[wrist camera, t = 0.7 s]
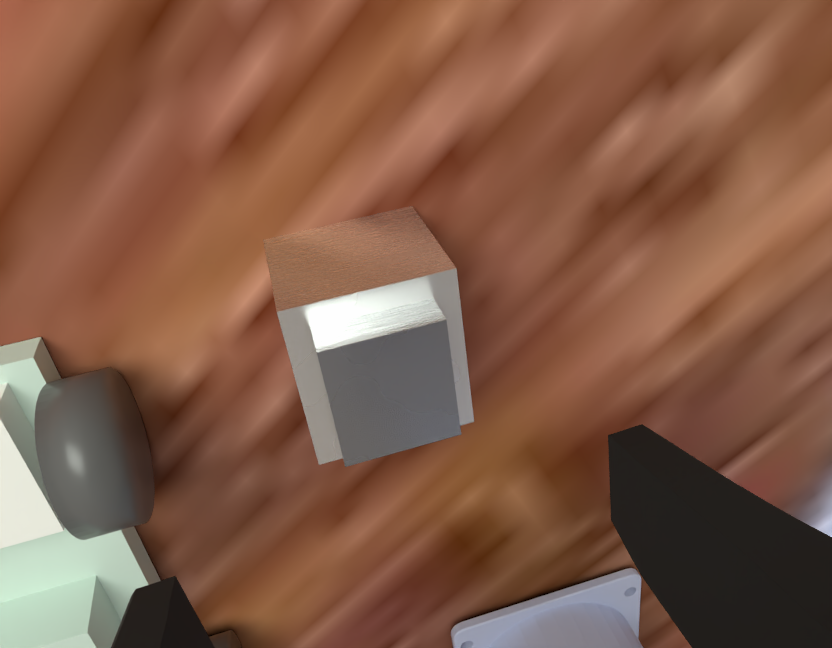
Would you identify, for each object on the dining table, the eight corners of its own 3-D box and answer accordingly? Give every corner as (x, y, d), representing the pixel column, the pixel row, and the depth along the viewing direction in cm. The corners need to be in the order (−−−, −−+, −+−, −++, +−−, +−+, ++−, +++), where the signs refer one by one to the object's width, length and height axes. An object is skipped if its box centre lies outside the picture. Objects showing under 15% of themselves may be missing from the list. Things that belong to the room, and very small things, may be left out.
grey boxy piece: (431, 341, 21) (487, 446, 17) (300, 375, 21) (324, 492, 17) (411, 205, 19) (470, 288, 15) (263, 238, 19) (281, 335, 14)
